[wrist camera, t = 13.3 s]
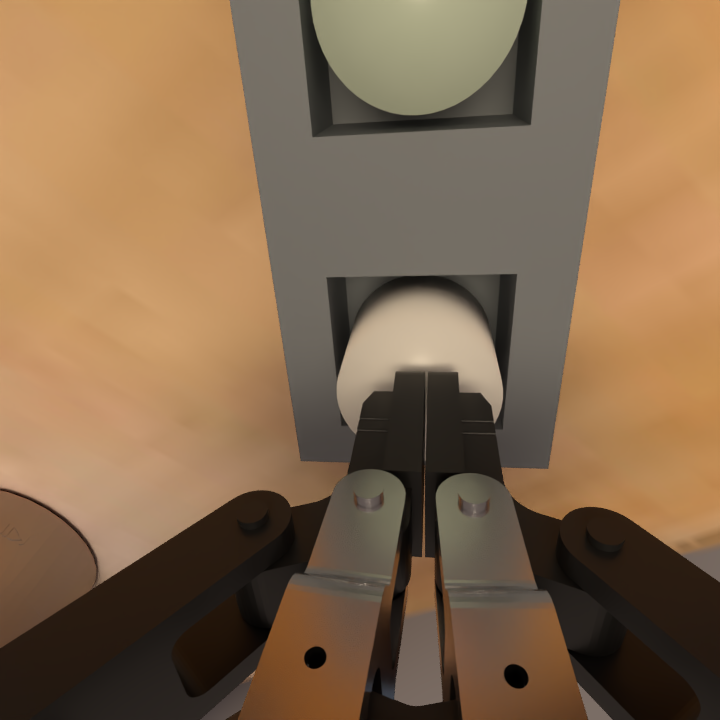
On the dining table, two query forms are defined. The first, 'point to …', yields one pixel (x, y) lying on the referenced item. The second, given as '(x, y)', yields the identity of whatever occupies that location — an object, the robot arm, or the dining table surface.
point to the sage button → (416, 48)
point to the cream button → (418, 343)
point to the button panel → (427, 203)
